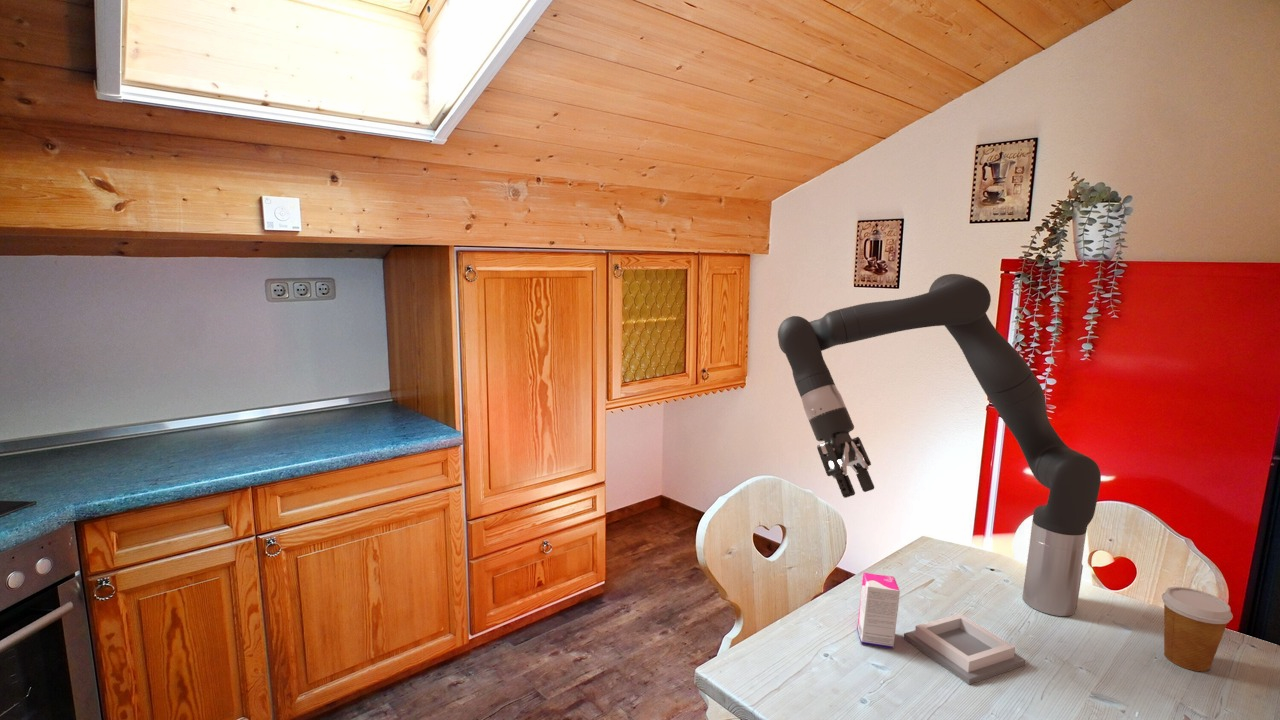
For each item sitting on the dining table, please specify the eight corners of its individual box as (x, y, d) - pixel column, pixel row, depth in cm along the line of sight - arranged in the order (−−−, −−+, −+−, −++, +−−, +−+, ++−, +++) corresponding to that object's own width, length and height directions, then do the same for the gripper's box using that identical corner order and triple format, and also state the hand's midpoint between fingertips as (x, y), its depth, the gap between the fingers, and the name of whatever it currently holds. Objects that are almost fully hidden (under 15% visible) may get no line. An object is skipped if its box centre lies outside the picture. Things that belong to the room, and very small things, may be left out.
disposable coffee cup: (1205, 651, 117) (1216, 591, 115) (1233, 683, 108) (1246, 618, 106) (1143, 640, 120) (1153, 581, 118) (1166, 670, 111) (1177, 607, 109)
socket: (957, 623, 124) (958, 608, 124) (1025, 665, 111) (1027, 649, 111) (903, 638, 119) (905, 623, 118) (968, 684, 106) (970, 668, 105)
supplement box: (894, 649, 115) (900, 590, 113) (860, 645, 116) (865, 586, 114) (889, 631, 121) (894, 575, 119) (856, 627, 122) (861, 571, 120)
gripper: (826, 406, 116) (861, 492, 111) (859, 404, 127) (893, 483, 122) (792, 421, 121) (825, 504, 116) (827, 418, 131) (858, 494, 126)
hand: (859, 493), depth 119 cm, fingers open, 8 cm apart
